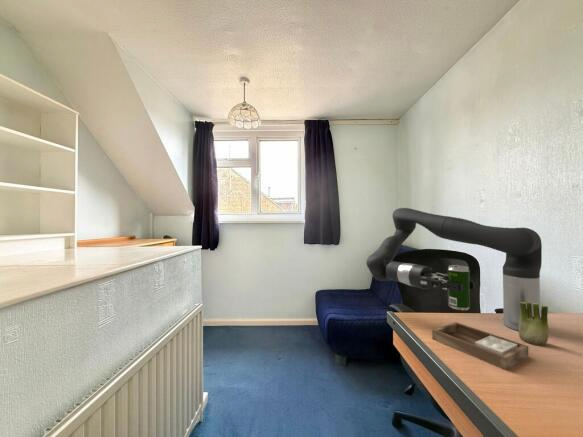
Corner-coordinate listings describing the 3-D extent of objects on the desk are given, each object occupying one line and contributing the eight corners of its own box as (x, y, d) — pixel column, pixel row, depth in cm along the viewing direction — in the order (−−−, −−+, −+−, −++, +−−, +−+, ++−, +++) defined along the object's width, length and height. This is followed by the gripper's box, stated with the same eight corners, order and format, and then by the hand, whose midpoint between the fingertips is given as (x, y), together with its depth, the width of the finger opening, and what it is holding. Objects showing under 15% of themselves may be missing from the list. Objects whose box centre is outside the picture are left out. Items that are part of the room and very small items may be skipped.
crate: (455, 333, 82) (455, 322, 82) (528, 360, 66) (528, 346, 66) (432, 341, 76) (432, 330, 76) (505, 373, 60) (505, 358, 60)
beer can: (464, 312, 71) (464, 268, 71) (444, 306, 76) (444, 266, 76) (473, 308, 74) (473, 266, 74) (453, 303, 79) (453, 264, 79)
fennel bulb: (550, 347, 72) (550, 304, 72) (541, 351, 70) (540, 307, 70) (525, 338, 77) (524, 299, 78) (515, 341, 76) (515, 301, 76)
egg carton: (490, 346, 71) (490, 332, 71) (517, 356, 66) (517, 341, 66) (475, 353, 68) (474, 339, 68) (502, 364, 62) (502, 349, 62)
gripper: (400, 266, 84) (453, 276, 69) (428, 262, 91) (481, 271, 76) (400, 289, 84) (453, 304, 69) (428, 283, 91) (481, 296, 76)
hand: (467, 286), depth 73 cm, fingers closed on beer can, 5 cm apart
